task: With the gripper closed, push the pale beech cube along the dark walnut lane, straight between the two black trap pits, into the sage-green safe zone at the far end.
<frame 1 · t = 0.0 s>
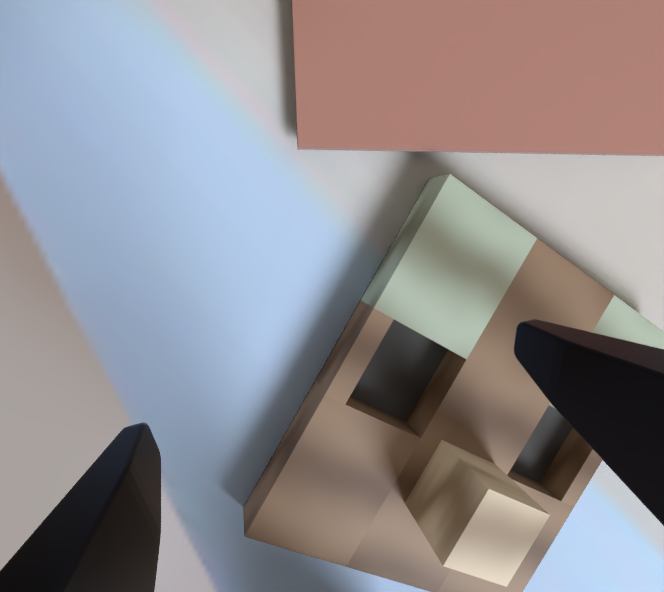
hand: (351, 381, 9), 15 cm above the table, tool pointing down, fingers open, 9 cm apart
trap deck: (459, 416, 29), on the table
notebook: (497, 19, 25), on the table
block: (450, 483, 27), point 2 cm above the table, touching trap deck
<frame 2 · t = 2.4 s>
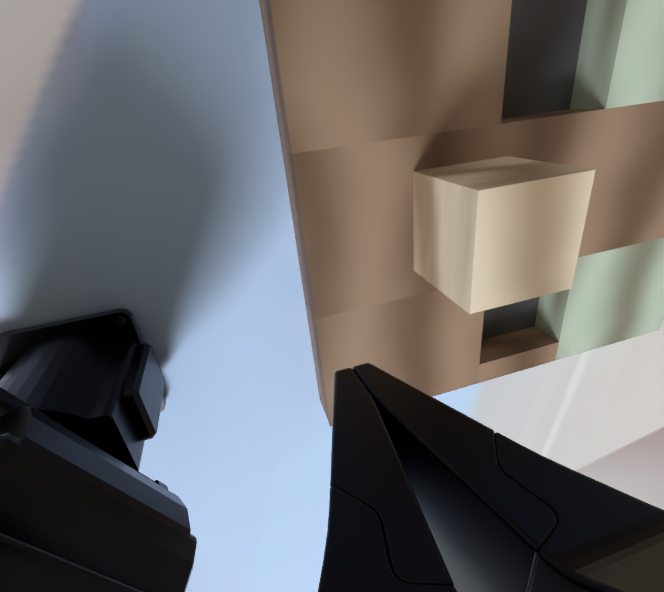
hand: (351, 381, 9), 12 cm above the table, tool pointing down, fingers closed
trap deck: (495, 193, 22), on the table
block: (458, 215, 19), point 2 cm above the table, touching trap deck
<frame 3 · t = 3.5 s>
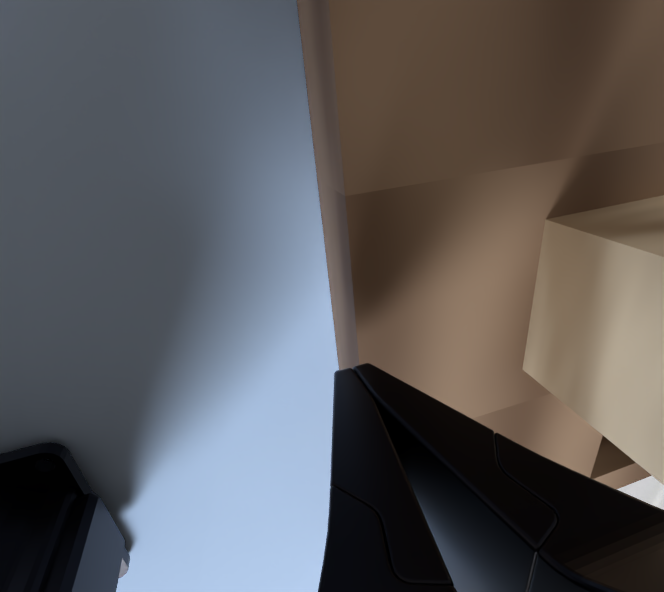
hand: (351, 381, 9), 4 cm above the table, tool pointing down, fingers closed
trap deck: (628, 237, 15), on the table
block: (601, 284, 12), point 2 cm above the table, touching trap deck
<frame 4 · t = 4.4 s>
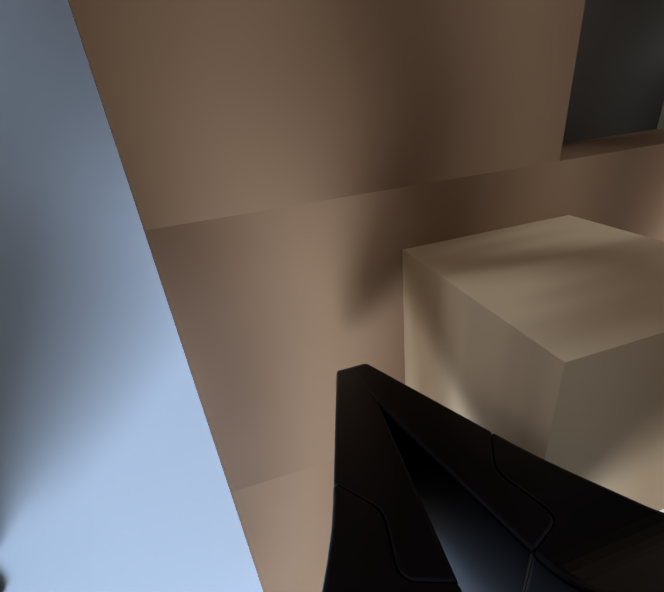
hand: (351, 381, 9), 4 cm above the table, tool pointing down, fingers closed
trap deck: (532, 259, 14), on the table
block: (482, 313, 11), point 3 cm above the table, touching gripper, trap deck
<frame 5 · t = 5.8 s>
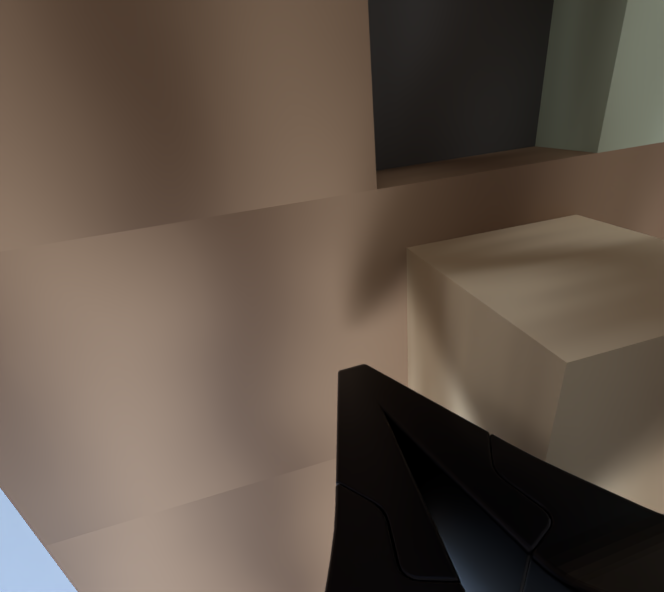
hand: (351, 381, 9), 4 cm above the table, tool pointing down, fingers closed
trap deck: (410, 286, 13), on the table
block: (487, 313, 11), point 3 cm above the table, touching gripper
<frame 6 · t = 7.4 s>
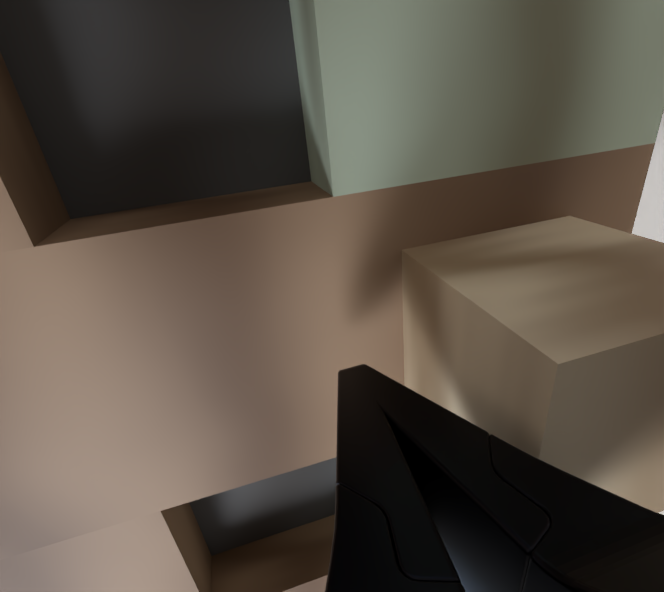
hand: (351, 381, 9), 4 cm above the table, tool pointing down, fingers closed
trap deck: (198, 333, 12), on the table
block: (482, 314, 11), point 2 cm above the table, touching gripper, trap deck
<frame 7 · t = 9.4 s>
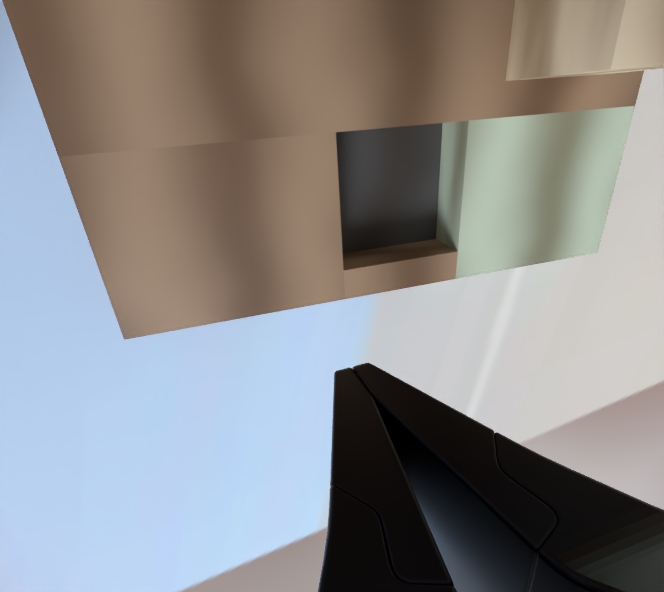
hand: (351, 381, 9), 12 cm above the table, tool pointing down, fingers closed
trap deck: (359, 22, 16), on the table
block: (566, 7, 16), point 2 cm above the table, touching trap deck
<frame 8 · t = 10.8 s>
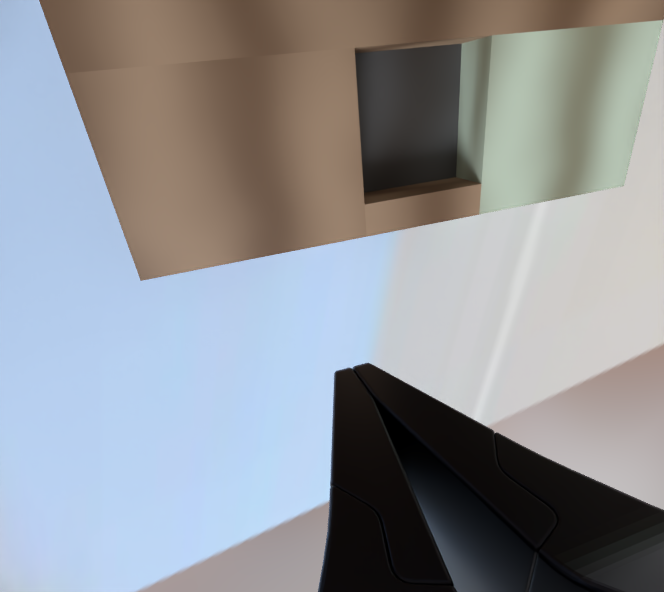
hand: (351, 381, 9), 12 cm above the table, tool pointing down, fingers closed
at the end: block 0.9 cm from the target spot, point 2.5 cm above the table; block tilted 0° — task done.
